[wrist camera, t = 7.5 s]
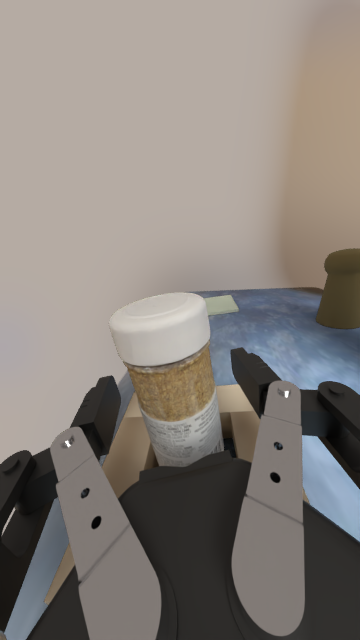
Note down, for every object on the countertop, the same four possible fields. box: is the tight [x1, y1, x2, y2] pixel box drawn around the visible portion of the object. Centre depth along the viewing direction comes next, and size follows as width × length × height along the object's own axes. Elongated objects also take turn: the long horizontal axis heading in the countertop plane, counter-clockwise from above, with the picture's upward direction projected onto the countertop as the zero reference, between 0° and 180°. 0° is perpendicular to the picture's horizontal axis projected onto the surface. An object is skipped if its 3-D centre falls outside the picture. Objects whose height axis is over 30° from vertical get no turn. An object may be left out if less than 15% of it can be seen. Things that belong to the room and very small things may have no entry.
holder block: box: [44, 384, 310, 605], centre depth 13 cm, size 12×12×3 cm
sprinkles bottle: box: [109, 292, 224, 467], centre depth 11 cm, size 5×5×13 cm
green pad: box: [204, 295, 239, 316], centre depth 48 cm, size 12×12×1 cm
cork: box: [316, 249, 360, 329], centre depth 29 cm, size 6×6×11 cm
